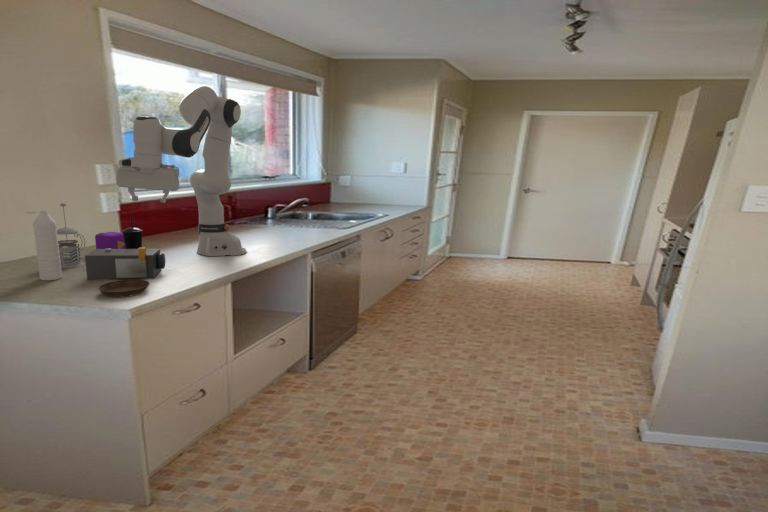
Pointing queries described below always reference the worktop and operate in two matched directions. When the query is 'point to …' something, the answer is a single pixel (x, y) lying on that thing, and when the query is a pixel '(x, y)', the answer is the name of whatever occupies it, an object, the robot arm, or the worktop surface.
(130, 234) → the drinking cup
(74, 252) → the french press
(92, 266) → the camera housing
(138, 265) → the side door
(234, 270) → the worktop surface
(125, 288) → the saucer
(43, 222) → the water bottle
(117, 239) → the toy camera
